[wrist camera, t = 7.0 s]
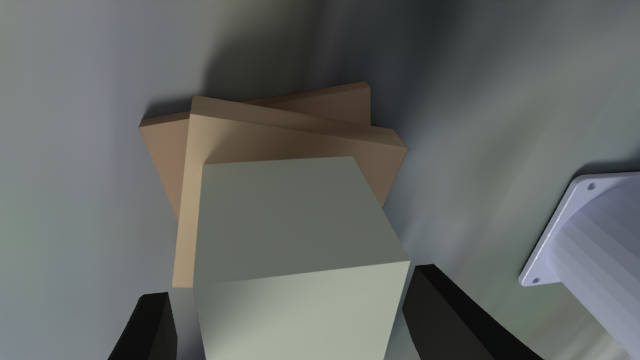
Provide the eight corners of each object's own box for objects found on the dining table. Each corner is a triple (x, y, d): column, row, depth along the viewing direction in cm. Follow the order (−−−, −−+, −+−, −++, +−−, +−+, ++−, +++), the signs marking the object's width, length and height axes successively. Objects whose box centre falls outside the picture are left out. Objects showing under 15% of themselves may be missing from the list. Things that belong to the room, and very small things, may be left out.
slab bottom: (357, 73, 15) (370, 87, 13) (362, 224, 19) (372, 245, 18) (145, 108, 14) (138, 127, 12) (204, 259, 18) (203, 283, 17)
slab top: (392, 129, 15) (408, 148, 13) (337, 265, 18) (345, 289, 17) (193, 94, 12) (189, 113, 11) (175, 259, 16) (172, 287, 15)
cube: (352, 156, 13) (410, 260, 9) (339, 258, 16) (379, 374, 12) (202, 164, 12) (192, 286, 8) (216, 272, 15) (214, 404, 11)
